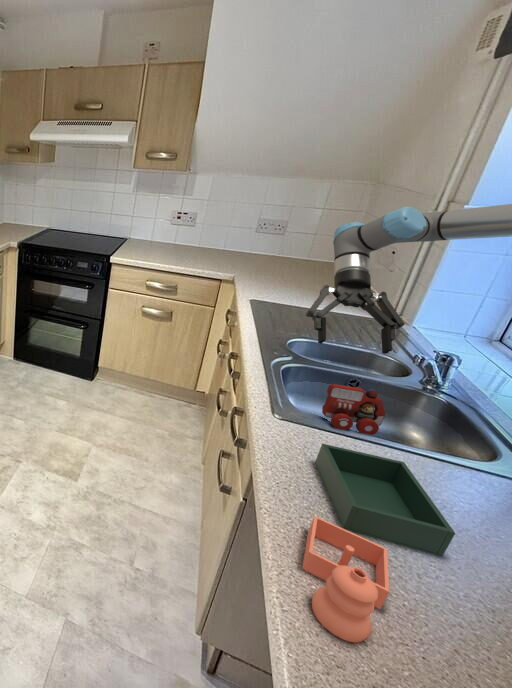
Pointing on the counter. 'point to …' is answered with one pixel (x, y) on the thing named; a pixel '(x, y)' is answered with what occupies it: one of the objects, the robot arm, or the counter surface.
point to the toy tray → (382, 500)
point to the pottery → (346, 581)
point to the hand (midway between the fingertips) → (353, 346)
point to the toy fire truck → (354, 408)
